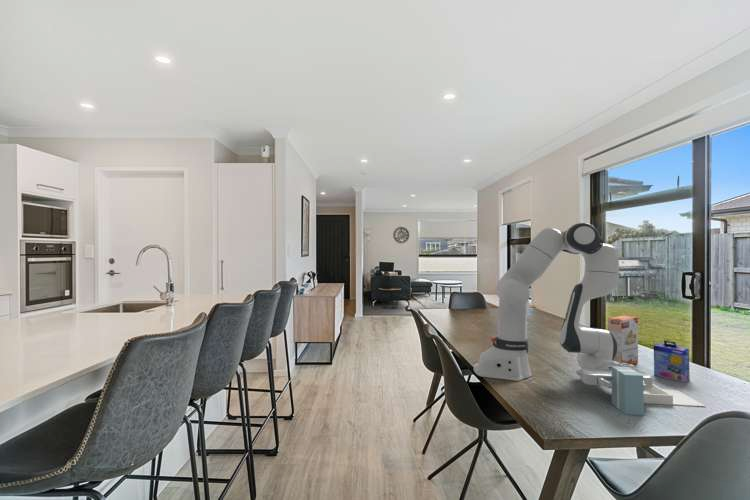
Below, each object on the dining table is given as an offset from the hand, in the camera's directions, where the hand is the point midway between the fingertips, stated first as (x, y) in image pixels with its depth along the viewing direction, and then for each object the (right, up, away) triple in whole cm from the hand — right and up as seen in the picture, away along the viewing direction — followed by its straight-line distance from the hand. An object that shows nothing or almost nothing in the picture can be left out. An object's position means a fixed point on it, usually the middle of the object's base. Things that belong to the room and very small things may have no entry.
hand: (627, 387), depth 107 cm
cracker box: (+30, -8, +43) cm, 53 cm away
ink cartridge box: (+37, -7, +27) cm, 47 cm away
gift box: (0, -7, 0) cm, 7 cm away
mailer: (+17, -7, +9) cm, 21 cm away
